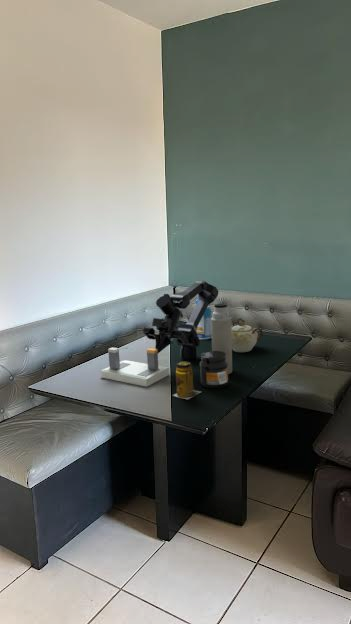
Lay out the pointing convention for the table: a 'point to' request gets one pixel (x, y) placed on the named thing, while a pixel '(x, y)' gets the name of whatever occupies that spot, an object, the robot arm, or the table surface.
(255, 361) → the table surface
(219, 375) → the supplement container
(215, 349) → the thermos bottle
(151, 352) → the orange-capped grey pillar
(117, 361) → the on handle
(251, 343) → the sugar bowl
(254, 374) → the table surface
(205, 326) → the beverage bottle
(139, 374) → the box
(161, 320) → the robot arm
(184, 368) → the condiment
